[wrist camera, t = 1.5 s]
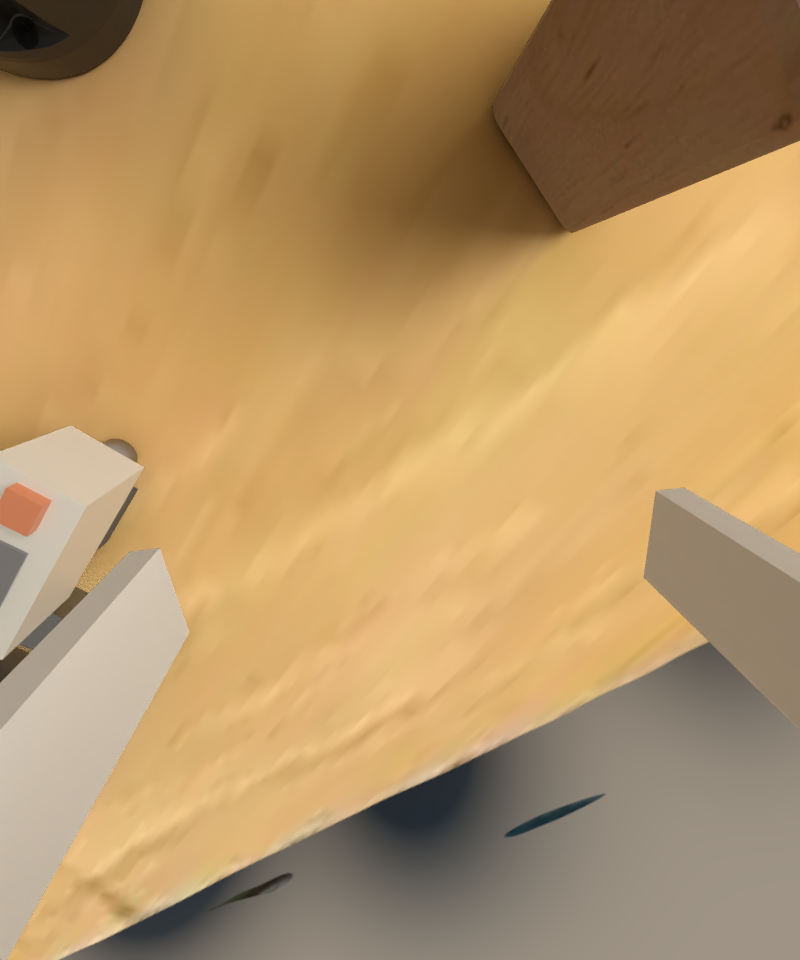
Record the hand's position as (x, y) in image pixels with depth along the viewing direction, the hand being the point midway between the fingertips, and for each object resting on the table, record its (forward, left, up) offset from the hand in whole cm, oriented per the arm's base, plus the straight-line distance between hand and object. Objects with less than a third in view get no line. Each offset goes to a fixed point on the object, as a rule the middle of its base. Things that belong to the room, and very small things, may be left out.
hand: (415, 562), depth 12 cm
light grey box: (-15, -21, -25) cm, 36 cm away
